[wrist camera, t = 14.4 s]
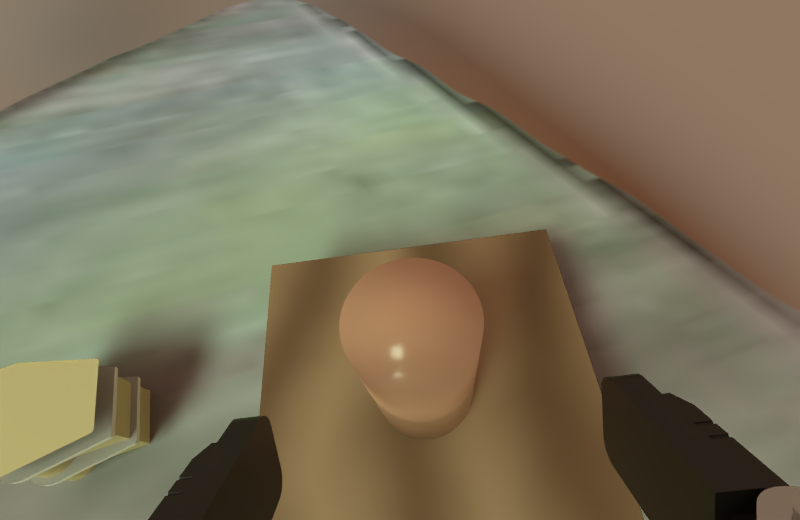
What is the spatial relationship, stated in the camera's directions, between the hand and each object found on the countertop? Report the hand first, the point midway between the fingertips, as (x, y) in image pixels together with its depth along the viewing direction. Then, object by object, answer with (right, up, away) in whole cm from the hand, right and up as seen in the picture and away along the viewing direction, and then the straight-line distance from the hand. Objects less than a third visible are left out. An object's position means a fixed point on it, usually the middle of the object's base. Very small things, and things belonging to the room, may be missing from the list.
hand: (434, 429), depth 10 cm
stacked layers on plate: (-19, -7, +16) cm, 26 cm away
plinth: (+1, -5, +14) cm, 15 cm away
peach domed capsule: (0, -2, +10) cm, 10 cm away
